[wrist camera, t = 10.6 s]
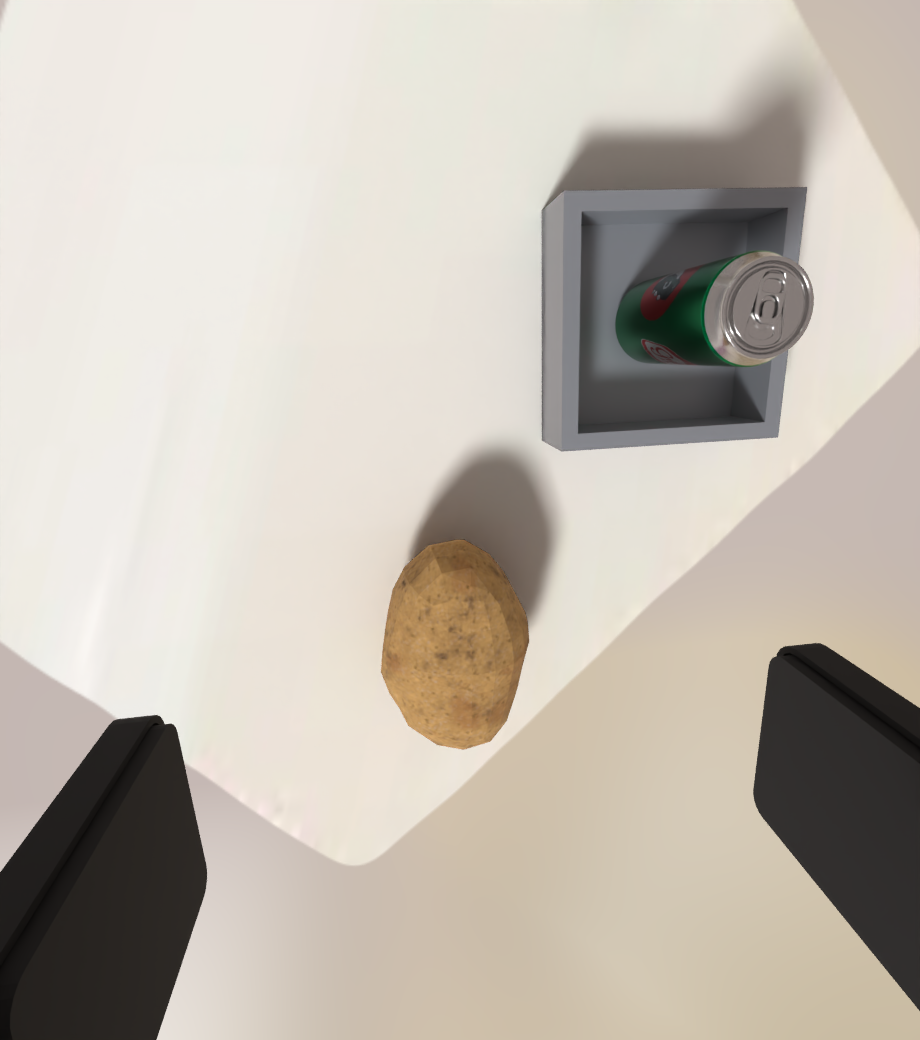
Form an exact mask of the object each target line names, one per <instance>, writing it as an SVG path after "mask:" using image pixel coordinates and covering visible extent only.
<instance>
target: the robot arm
mask: <svg viewBox="0 0 920 1040" xmlns="http://www.w3.org/2000/svg"><path fill="white" fill-rule="evenodd" d="M753 791H754V792H753V794H754V801H755V803H756V807H757V809H758V811H759V813H760V814H761V816H762V817H763V819H764V820H765V821H766V822H767V823H768V825H769V826H770V827H771V828H772V830H773V831H774V832H775V833H776V835H777V836H778V837H779V838H780V839H781V841H782V842H783V843H784V844H785V846H786V847H787V848H788V849H789V851H790V852H791V853H792V854H793V856H794V857H795V858H796V859H797V860H798V862H799V863H800V864H801V865H802V867H803V868H804V869H805V870H806V872H807V873H808V874H809V875H810V876H811V878H812V879H813V880H814V881H815V883H816V884H817V885H818V886H819V888H821V890H822V891H823V892H824V894H825V895H826V896H827V897H828V898H829V900H830V901H831V902H832V903H833V905H834V906H835V907H836V908H837V910H838V911H839V912H840V913H841V915H842V916H843V917H844V918H845V919H846V921H847V922H848V923H849V924H850V926H851V927H852V928H853V929H854V930H855V932H856V933H857V934H858V935H859V936H860V938H861V939H862V940H863V942H864V943H865V944H866V945H867V946H868V948H869V949H870V950H871V951H872V953H873V954H874V955H875V956H876V958H877V959H878V960H879V961H880V963H881V964H882V965H883V966H884V967H885V969H886V970H887V971H888V972H889V974H890V975H891V976H892V977H893V979H894V980H895V981H896V982H897V983H898V985H899V986H900V987H901V988H902V990H903V991H904V992H905V993H906V995H907V996H908V997H909V998H910V999H911V1001H912V1002H913V1003H914V1004H915V1006H916V1007H917V1008H918V1009H919V1011H920V708H919V707H917V706H916V705H914V704H913V703H911V702H909V701H908V700H907V699H905V698H904V697H902V696H900V695H899V694H898V693H896V692H895V691H893V690H891V689H890V688H888V687H887V686H885V685H884V684H882V683H881V682H879V681H878V680H876V679H875V678H874V677H872V676H870V675H869V674H868V673H866V672H864V671H863V670H861V669H860V668H858V667H857V666H855V665H854V664H852V663H851V662H849V661H848V660H846V659H845V658H843V657H842V656H840V655H839V654H837V653H836V652H834V651H833V650H831V649H830V648H828V647H827V646H825V645H822V644H820V643H813V644H804V645H794V646H785V647H783V648H781V649H780V650H779V652H778V653H777V657H774V658H772V660H771V661H770V664H769V669H768V677H767V686H766V693H765V701H764V710H763V717H762V726H761V733H760V742H759V749H758V757H757V766H756V773H755V781H754V790H753ZM206 882H207V868H206V862H205V857H204V853H203V848H202V844H201V839H200V835H199V830H198V825H197V820H196V816H195V811H194V807H193V802H192V797H191V793H190V788H189V784H188V779H187V775H186V770H185V765H184V761H183V756H182V751H181V747H180V742H179V738H178V733H177V730H176V727H175V726H174V725H173V724H164V722H163V720H162V718H161V717H160V716H158V715H152V716H143V717H134V718H125V719H117V720H114V721H113V722H112V723H111V724H110V725H109V726H108V727H107V729H106V730H105V732H104V733H103V734H102V736H101V737H100V738H99V740H98V741H97V742H96V744H95V745H94V746H93V748H92V749H91V750H90V752H89V753H88V754H87V756H86V757H85V759H84V760H83V761H82V763H81V764H80V766H79V767H78V768H77V769H76V771H75V772H74V773H73V775H72V776H71V777H70V779H69V780H68V781H67V783H66V784H65V786H64V787H63V788H62V790H61V791H60V793H59V794H58V795H57V796H56V798H55V799H54V800H53V802H52V803H51V804H50V806H49V807H48V809H47V810H46V811H45V813H44V814H43V815H42V817H41V818H40V819H39V821H38V822H37V823H36V825H35V826H34V827H33V829H32V830H31V832H30V833H29V834H28V836H27V837H26V839H25V840H24V841H23V842H22V844H21V845H20V846H19V848H18V849H17V850H16V852H15V853H14V855H13V856H12V857H11V859H10V860H9V861H8V863H7V864H6V865H5V867H4V868H3V870H2V871H1V872H0V1040H156V1039H157V1036H158V1033H159V1030H160V1027H161V1024H162V1021H163V1018H164V1015H165V1012H166V1009H167V1006H168V1003H169V1000H170V997H171V994H172V991H173V988H174V985H175V982H176V979H177V976H178V973H179V970H180V967H181V964H182V961H183V958H184V955H185V952H186V949H187V946H188V943H189V940H190V937H191V934H192V931H193V927H194V925H195V921H196V919H197V916H198V913H199V910H200V907H201V904H202V901H203V897H204V894H205V889H206Z"/></svg>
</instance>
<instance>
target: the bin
mask: <svg viewBox="0 0 920 1040" xmlns="http://www.w3.org/2000/svg"><path fill="white" fill-rule="evenodd" d="M806 193H807V187H790V188H721V189H652V190H583V191H563V192H562V193H561V194H560V195H559V196H557V197H556V198H555V199H554V200H553V201H552V202H551V203H550V204H549V205H547V206H546V207H545V208H544V209H543V210H542V441H544V442H546V443H547V444H549V445H551V446H553V447H555V448H556V449H558V450H560V451H576V450H591V449H607V448H622V447H638V446H653V445H668V444H684V443H699V442H714V441H730V440H745V439H760V438H776V437H778V433H779V424H780V416H781V407H782V398H783V390H784V381H785V373H786V364H787V356H788V350H787V351H785V352H784V353H782V354H780V355H778V356H777V357H775V358H774V359H772V360H770V361H768V362H767V363H764V364H761V365H758V366H753V367H725V366H699V365H674V364H649V363H642V362H639V361H636V360H634V359H633V358H631V357H630V356H629V355H627V354H626V353H625V351H624V350H623V349H622V347H621V346H620V344H619V342H618V339H617V336H616V330H615V320H616V314H617V311H618V308H619V305H620V303H621V301H622V299H623V298H624V297H625V295H626V294H627V293H628V292H629V291H630V290H631V289H632V288H633V287H635V286H636V285H637V284H639V283H641V282H643V281H646V280H649V279H653V278H656V277H660V276H664V275H667V274H671V273H674V272H678V271H681V270H685V269H689V268H692V267H696V266H699V265H703V264H707V263H710V262H714V261H717V260H721V259H724V258H728V257H732V256H735V255H739V254H742V253H746V252H750V251H756V250H765V251H770V252H774V253H777V254H779V255H781V256H783V257H786V258H788V259H791V260H793V261H794V262H796V263H797V264H798V261H799V253H800V244H801V235H802V227H803V218H804V210H805V201H806Z"/></svg>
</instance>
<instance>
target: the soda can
mask: <svg viewBox="0 0 920 1040" xmlns="http://www.w3.org/2000/svg"><path fill="white" fill-rule="evenodd" d="M813 300H814V296H813V289H812V285H811V282H810V279H809V277H808V275H807V274H806V272H805V271H804V269H803V268H802V267H801V266H800V265H799V264H797V263H796V262H794V261H793V260H791V259H788V258H786V257H783V256H781V255H779V254H777V253H774V252H770V251H765V250H756V251H750V252H746V253H742V254H739V255H735V256H732V257H728V258H724V259H721V260H717V261H714V262H710V263H707V264H703V265H699V266H696V267H692V268H689V269H685V270H681V271H678V272H674V273H671V274H667V275H664V276H660V277H656V278H653V279H649V280H646V281H643V282H641V283H639V284H637V285H636V286H635V287H633V288H632V289H631V290H630V291H629V292H628V293H627V294H626V295H625V297H624V298H623V299H622V301H621V303H620V305H619V308H618V311H617V314H616V320H615V330H616V336H617V339H618V342H619V344H620V346H621V347H622V349H623V350H624V351H625V353H626V354H627V355H629V356H630V357H631V358H633V359H634V360H636V361H639V362H642V363H649V364H674V365H699V366H725V367H753V366H758V365H761V364H764V363H767V362H768V361H770V360H772V359H774V358H775V357H777V356H778V355H780V354H782V353H784V352H785V351H787V350H788V349H790V348H791V347H792V346H793V345H794V344H795V343H796V342H797V341H798V340H799V339H800V337H801V336H802V335H803V333H804V332H805V330H806V328H807V326H808V324H809V321H810V318H811V315H812V311H813Z"/></svg>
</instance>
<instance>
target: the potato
mask: <svg viewBox="0 0 920 1040" xmlns="http://www.w3.org/2000/svg"><path fill="white" fill-rule="evenodd" d="M528 643H529V633H528V622H527V618H526V614H525V611H524V609H523V607H522V605H521V603H520V602H519V600H518V598H517V596H516V594H515V592H514V590H513V588H512V586H511V584H510V583H509V581H508V579H507V577H506V575H505V573H504V572H503V570H502V569H501V568H500V567H499V565H498V564H497V563H496V562H495V561H494V559H493V558H492V557H491V556H490V554H489V553H487V552H485V551H483V550H482V549H480V548H478V547H476V546H474V545H473V544H471V543H469V542H467V541H465V540H452V541H447V542H442V543H438V544H433V545H428V546H427V547H426V548H425V549H424V550H423V551H422V552H420V553H419V554H418V555H417V556H416V557H415V558H414V559H413V560H412V561H410V562H409V563H408V564H407V565H406V566H405V567H404V569H403V571H402V573H401V575H400V577H399V579H398V581H397V582H396V584H395V586H394V588H393V591H392V596H391V600H390V605H389V609H388V615H387V622H386V628H385V636H384V644H383V653H382V667H381V673H382V675H383V678H384V680H385V683H386V685H387V688H388V690H389V693H390V695H391V696H392V698H393V699H394V701H395V702H396V704H397V705H398V707H399V708H400V710H401V712H402V714H403V716H404V718H405V720H406V722H407V724H408V726H410V727H411V728H413V729H414V730H416V731H417V732H419V733H420V734H422V735H423V736H425V737H426V738H428V739H429V740H431V741H432V742H434V743H435V744H437V745H441V746H447V747H452V748H458V749H463V750H464V749H467V748H471V747H474V746H477V745H480V744H484V743H487V742H490V741H491V740H492V739H493V738H494V736H495V735H496V734H497V732H498V731H499V730H500V729H501V727H502V726H503V725H504V723H505V722H506V721H507V718H508V715H509V712H510V709H511V706H512V703H513V700H514V697H515V694H516V691H517V687H518V683H519V678H520V674H521V670H522V665H523V662H524V658H525V654H526V651H527V647H528Z"/></svg>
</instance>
